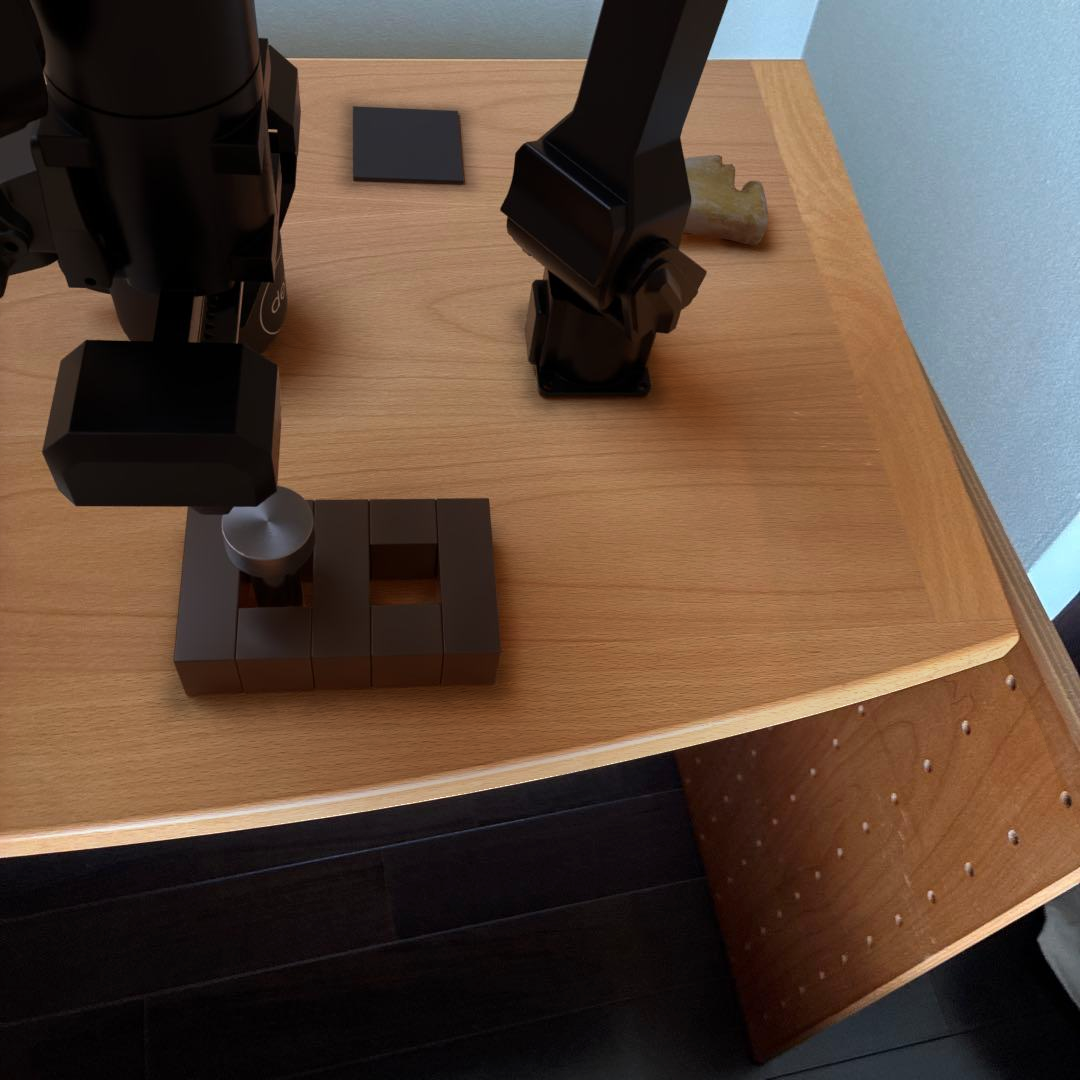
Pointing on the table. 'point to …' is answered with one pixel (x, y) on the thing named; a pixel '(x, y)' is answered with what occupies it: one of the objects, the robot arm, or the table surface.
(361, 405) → the table surface
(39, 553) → the table surface
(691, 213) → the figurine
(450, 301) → the table surface
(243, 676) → the board
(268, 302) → the mug
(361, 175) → the pad
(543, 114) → the table surface
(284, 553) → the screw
